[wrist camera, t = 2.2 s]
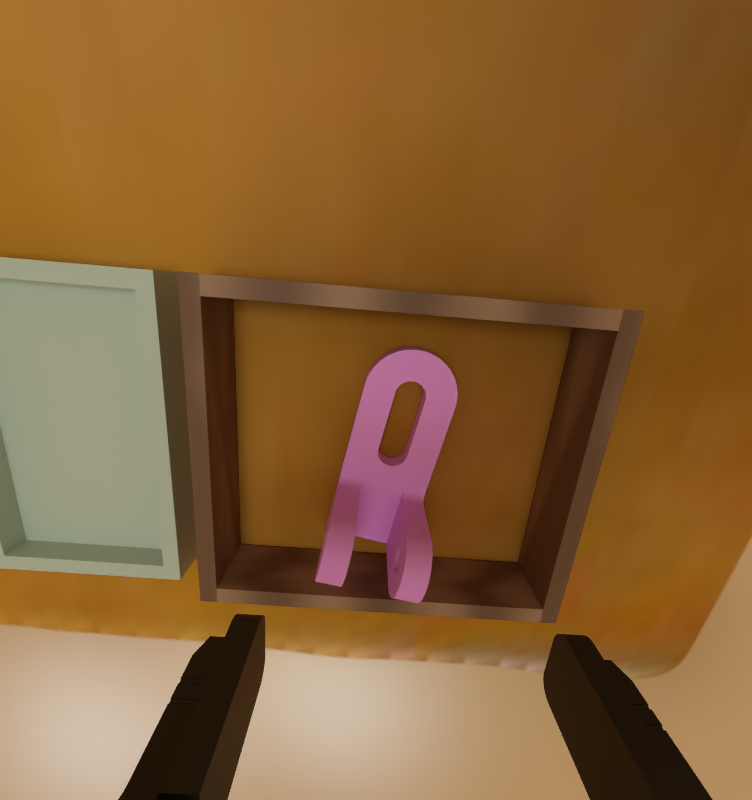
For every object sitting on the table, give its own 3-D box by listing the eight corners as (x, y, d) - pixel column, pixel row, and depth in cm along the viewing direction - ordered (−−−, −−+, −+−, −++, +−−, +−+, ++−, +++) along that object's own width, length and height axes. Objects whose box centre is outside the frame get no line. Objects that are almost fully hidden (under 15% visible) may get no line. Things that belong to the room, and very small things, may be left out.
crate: (594, 308, 21) (644, 311, 17) (529, 575, 26) (555, 623, 22) (214, 276, 20) (177, 271, 16) (226, 554, 26) (200, 600, 22)
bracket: (404, 534, 25) (415, 620, 19) (328, 516, 25) (311, 597, 18) (464, 359, 22) (504, 388, 15) (377, 335, 21) (378, 354, 15)
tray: (179, 272, 20) (152, 270, 18) (198, 553, 26) (180, 579, 23) (-38, 254, 20) (-95, 249, 18) (28, 541, 25) (-9, 567, 23)
